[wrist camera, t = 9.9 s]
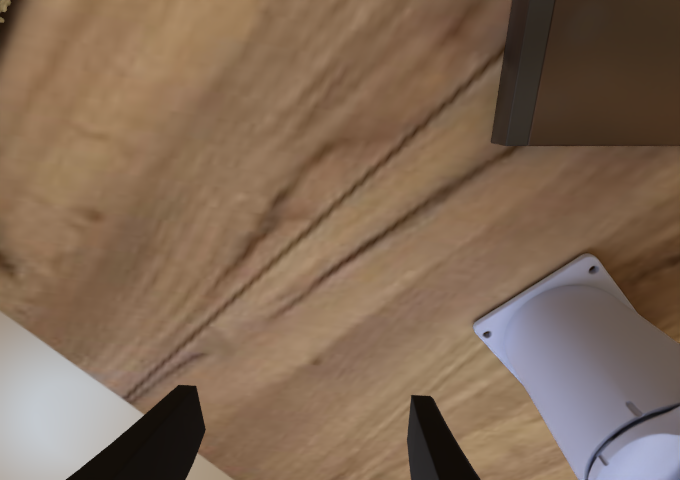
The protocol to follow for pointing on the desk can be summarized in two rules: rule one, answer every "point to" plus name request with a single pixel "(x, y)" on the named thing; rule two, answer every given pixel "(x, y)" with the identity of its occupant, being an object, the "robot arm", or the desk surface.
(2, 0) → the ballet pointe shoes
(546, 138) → the dark stepped block
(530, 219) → the desk surface
